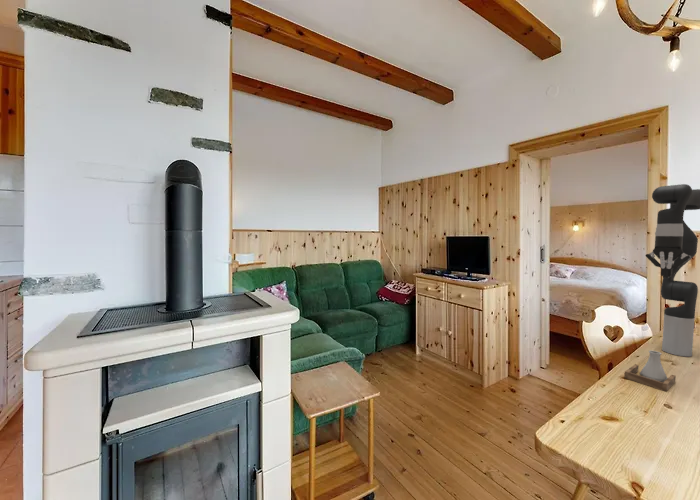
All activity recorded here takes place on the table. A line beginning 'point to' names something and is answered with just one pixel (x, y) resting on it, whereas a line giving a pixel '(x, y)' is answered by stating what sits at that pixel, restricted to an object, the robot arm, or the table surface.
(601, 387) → the table surface
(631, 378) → the corral
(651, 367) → the flask
